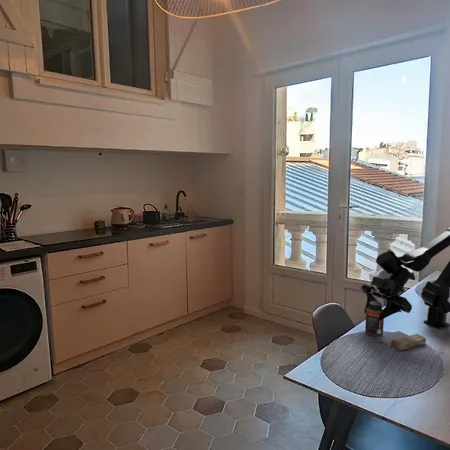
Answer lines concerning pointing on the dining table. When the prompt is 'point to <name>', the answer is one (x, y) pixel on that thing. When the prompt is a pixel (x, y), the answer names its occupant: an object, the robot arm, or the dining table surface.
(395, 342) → the rail
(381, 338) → the front pad
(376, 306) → the supplement bottle
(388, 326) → the dining table surface
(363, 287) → the robot arm
